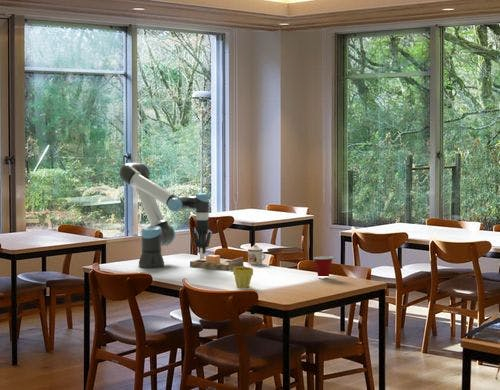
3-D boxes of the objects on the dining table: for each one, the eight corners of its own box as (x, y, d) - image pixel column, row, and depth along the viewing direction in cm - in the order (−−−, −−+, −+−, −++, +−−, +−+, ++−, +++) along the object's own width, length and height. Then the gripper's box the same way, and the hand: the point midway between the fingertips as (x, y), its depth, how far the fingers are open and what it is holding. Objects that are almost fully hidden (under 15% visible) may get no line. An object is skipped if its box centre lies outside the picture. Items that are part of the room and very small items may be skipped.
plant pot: (255, 288, 478) (255, 269, 477) (236, 289, 475) (236, 270, 474) (249, 284, 488) (249, 266, 487) (230, 285, 485) (231, 267, 484)
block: (206, 262, 541) (206, 255, 541) (211, 261, 546) (211, 254, 546) (214, 263, 538) (214, 256, 538) (219, 262, 544) (219, 255, 543)
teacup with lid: (244, 263, 558) (244, 244, 557) (253, 262, 565) (254, 243, 564) (260, 265, 550) (260, 246, 549) (269, 264, 557) (269, 245, 556)
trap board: (189, 266, 545) (189, 257, 545) (204, 262, 560) (204, 253, 560) (229, 270, 533) (229, 260, 533) (243, 266, 548) (243, 257, 548)
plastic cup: (319, 275, 518) (320, 254, 517) (336, 277, 512) (336, 256, 511) (309, 278, 509) (309, 256, 508) (326, 280, 503) (326, 258, 502)
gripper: (215, 219, 544) (214, 258, 546) (196, 218, 550) (196, 257, 552) (208, 220, 538) (208, 260, 540) (189, 219, 544) (189, 258, 546)
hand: (202, 258), depth 546 cm, fingers closed
